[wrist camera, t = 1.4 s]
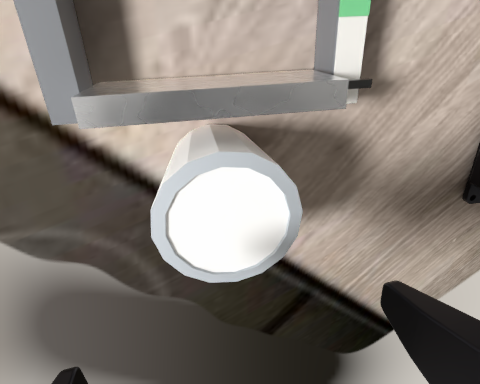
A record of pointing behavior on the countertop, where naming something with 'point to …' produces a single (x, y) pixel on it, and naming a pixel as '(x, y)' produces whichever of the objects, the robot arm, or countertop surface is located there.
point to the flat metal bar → (210, 97)
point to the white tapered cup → (224, 207)
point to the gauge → (77, 70)
